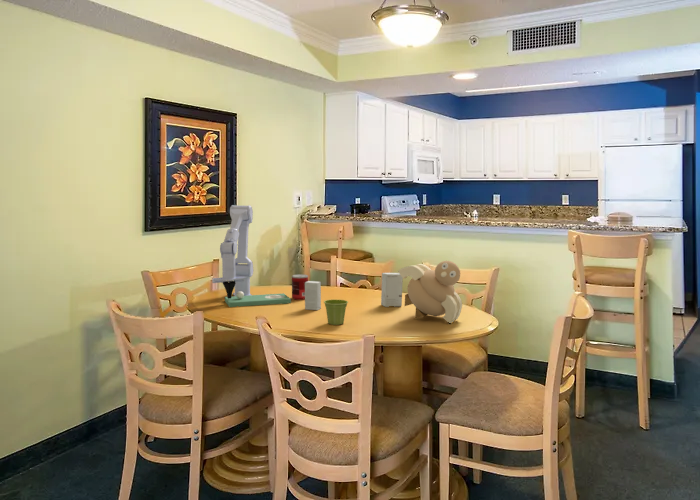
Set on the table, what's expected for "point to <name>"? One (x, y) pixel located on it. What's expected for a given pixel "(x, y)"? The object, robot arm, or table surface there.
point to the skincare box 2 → (391, 289)
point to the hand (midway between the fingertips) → (229, 298)
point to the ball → (240, 295)
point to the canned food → (299, 286)
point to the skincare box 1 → (312, 295)
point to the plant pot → (335, 311)
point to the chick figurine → (433, 290)
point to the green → (258, 300)
